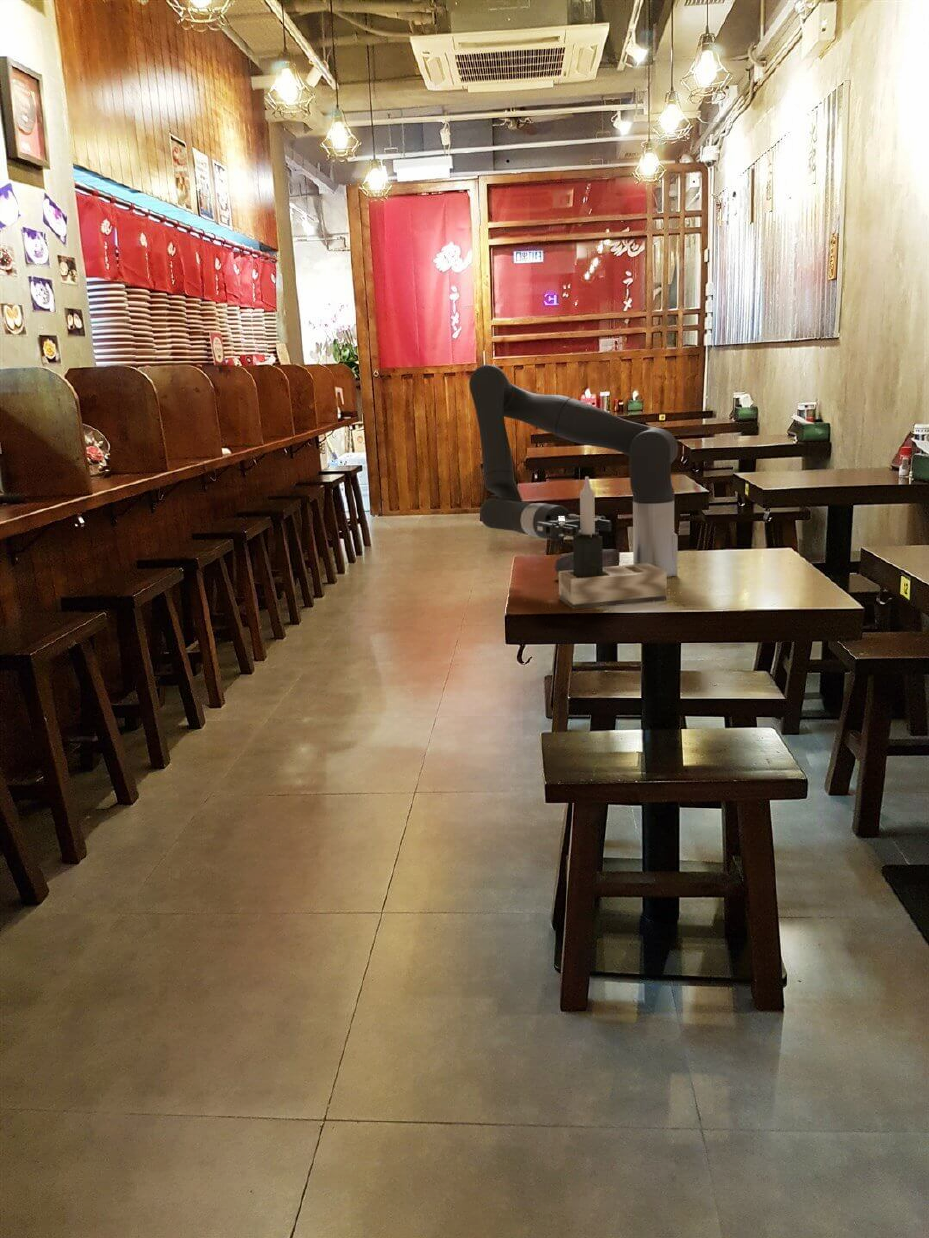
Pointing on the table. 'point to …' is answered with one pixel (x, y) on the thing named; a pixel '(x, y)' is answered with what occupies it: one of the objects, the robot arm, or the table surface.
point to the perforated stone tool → (608, 557)
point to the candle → (587, 538)
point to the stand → (614, 586)
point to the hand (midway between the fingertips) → (594, 529)
